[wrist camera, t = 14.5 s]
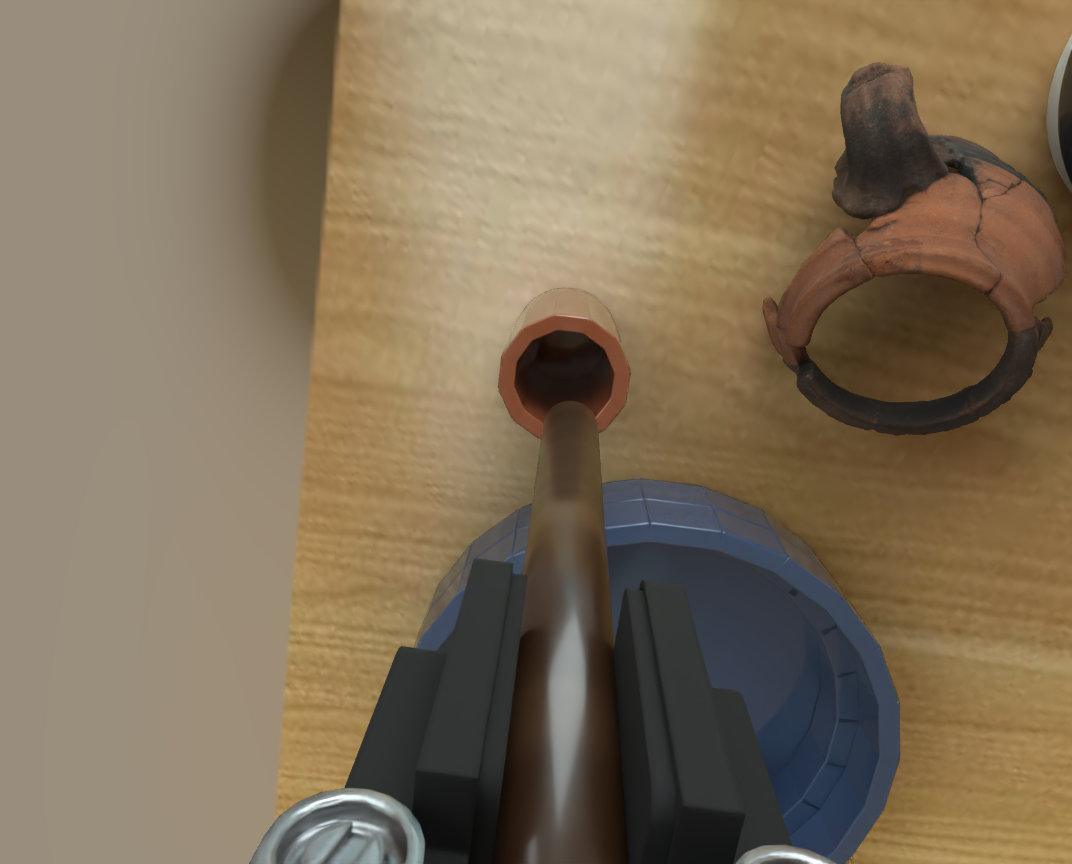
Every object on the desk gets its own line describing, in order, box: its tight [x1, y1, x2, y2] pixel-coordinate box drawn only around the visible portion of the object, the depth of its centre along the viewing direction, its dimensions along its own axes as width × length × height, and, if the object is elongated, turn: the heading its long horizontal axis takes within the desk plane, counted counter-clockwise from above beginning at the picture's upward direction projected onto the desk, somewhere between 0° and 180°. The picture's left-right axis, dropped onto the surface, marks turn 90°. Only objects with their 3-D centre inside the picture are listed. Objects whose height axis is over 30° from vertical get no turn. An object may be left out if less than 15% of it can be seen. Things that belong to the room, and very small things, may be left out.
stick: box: [492, 401, 629, 864], centre depth 13 cm, size 1×1×16 cm
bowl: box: [413, 479, 900, 864], centre depth 32 cm, size 20×20×5 cm
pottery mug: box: [762, 62, 1065, 435], centre depth 26 cm, size 12×10×8 cm
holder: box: [498, 288, 631, 439], centre depth 27 cm, size 4×4×7 cm
